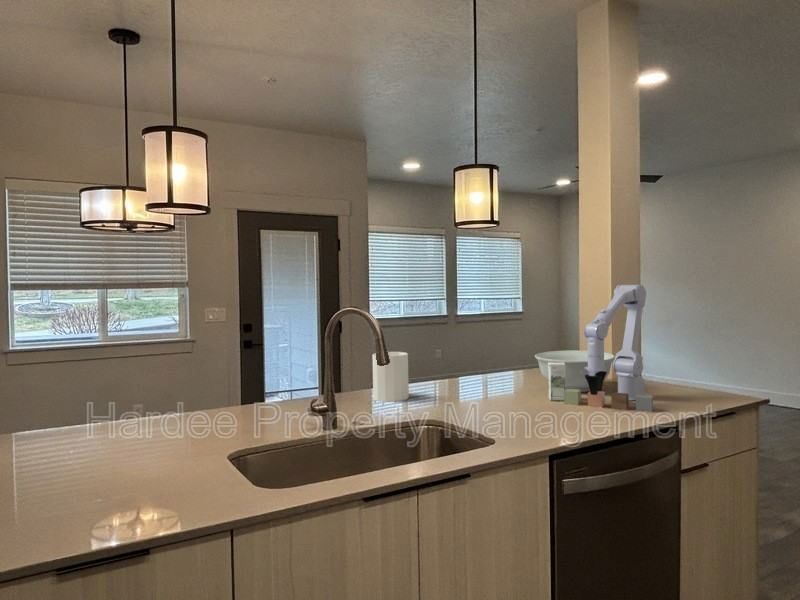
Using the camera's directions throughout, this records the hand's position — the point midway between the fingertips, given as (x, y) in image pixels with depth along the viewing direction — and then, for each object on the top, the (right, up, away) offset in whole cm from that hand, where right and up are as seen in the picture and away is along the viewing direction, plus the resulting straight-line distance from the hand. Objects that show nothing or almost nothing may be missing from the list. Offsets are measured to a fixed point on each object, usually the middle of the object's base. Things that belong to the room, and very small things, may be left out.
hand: (596, 392), depth 206 cm
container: (-76, -6, +22) cm, 79 cm away
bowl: (+2, -4, +32) cm, 33 cm away
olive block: (-7, -5, +5) cm, 10 cm away
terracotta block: (0, -5, 0) cm, 5 cm away
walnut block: (+7, -5, -4) cm, 10 cm away
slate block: (+14, -5, -8) cm, 17 cm away
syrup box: (-11, -5, +12) cm, 17 cm away
